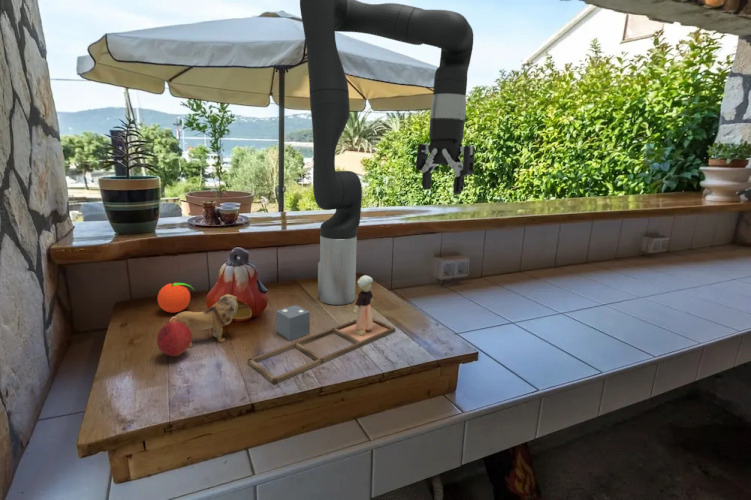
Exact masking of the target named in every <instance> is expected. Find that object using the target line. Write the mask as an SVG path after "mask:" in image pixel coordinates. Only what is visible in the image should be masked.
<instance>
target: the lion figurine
mask: <svg viewBox="0 0 751 500" xmlns="http://www.w3.org/2000/svg"><path fill="white" fill-rule="evenodd" d="M237 298H238V297H237V296H234V295H232V294H229V293H228V294H224V295H222V296H220V297H219V300H218V301H216V302H215V303H214V304H213V305H212V306H210V307H209V308H207V309H206V310H204V311H195V312H194V311H189V310H188V311H184V310H183V311H180V312H178V313H177V314H176V315H174V317H177V321H179V322H182V323H184V324H185V325H186V326H187V327H188V328H189V329H190V327H191V328H194V329H196V330H208V329H211V328H212V335H213V337H214V338H216V339H217V341H218V342H219V343H223V342H225V341H226V339H225V337H222V335H223V331H224V330H223V327H225V326H226V325H230V324H231V323H232V322H233V319H234V317H235V316H236V315H237V313H238V309H239V304H238V299H237ZM192 347H193V343H192V342H191V344H190V346H189V347H188V348H192Z"/></svg>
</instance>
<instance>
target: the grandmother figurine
mask: <svg viewBox="0 0 751 500" xmlns="http://www.w3.org/2000/svg"><path fill="white" fill-rule="evenodd" d="M373 281H374V280H373V278H372V277H371V276H369V275H366V274H365V275H362V276H360V278H358V280H357V285H358V287H359V290H360V291H359V293H358V295H357V299H356V301H355V303H354V307H353V310H352V313H353V314H354V315H357V316H356V319H357V322H356V330H355V333H356V334H358V335H360V336H363V335H366V331H370V330H371V329H372V328H373V322H372V318H373V314H372V307H371V306H372V305H371V304H372V303H373V302H374V298H373V293H372V290H371V289H372V285H373V284H372V283H373Z"/></svg>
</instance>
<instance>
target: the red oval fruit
mask: <svg viewBox="0 0 751 500" xmlns="http://www.w3.org/2000/svg"><path fill="white" fill-rule="evenodd" d="M192 341H193V334H192V331H191V329H190V327H189V328H188V327H187V326H186V325H185V324H184V323H182V322H179V321H177V317H175V316H172V317H171V318H170V319H169V321H168V322H167V323H165V324H164V325H163V326H162V327H161V328H160V330H159V331H158V333H157V336H156V345H157V348H158V349H159V350H160V352H161V353H164V354H166V355H167V356H170V357H175V358H178V357H179V356H181V355H182V354H183V353H184V352H186V351H187V350H188V349H189V348H190V347H189V346H190V344H191V343H192Z"/></svg>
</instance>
